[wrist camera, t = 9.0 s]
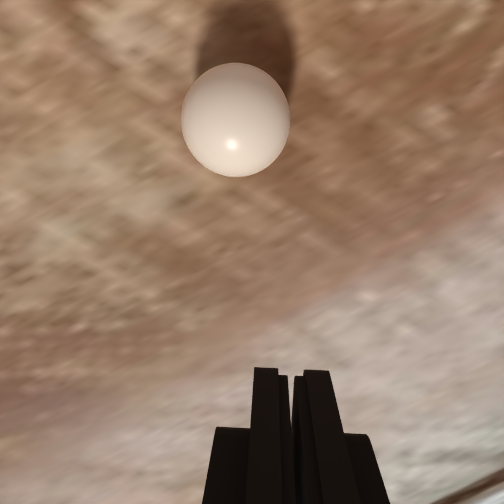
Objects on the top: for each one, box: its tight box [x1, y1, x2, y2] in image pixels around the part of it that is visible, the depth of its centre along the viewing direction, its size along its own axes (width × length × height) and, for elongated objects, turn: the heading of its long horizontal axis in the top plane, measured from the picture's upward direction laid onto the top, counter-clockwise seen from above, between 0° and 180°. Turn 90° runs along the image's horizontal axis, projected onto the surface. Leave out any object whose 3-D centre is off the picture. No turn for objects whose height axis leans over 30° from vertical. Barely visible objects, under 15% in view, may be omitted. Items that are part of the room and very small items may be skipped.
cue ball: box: [181, 63, 290, 177], centre depth 21 cm, size 6×6×6 cm
